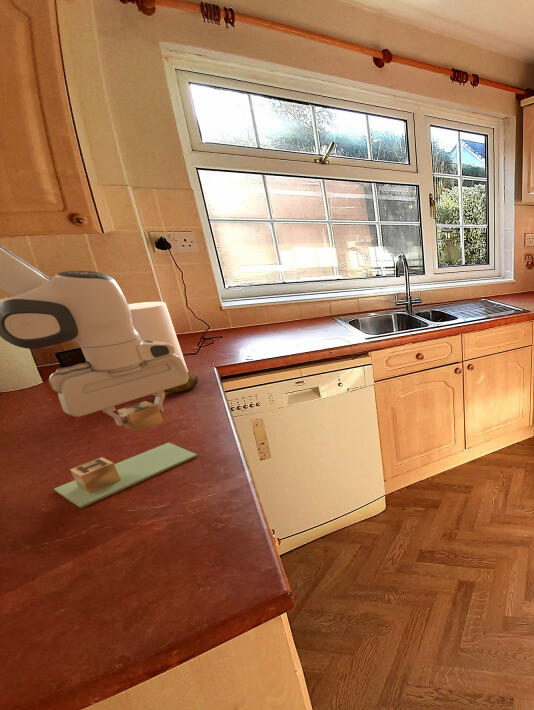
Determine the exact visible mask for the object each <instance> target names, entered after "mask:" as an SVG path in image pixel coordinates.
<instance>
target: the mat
mask: <svg viewBox="0 0 534 710" xmlns="http://www.w3.org/2000/svg"><path fill="white" fill-rule="evenodd" d="M197 457H198V454H197V453H195V452H192V451H190V450H188V449H186V448H183V447H181V446H179V445H176V444H174V443H172V442H167V443H163V444H162V445H158V446H156V447H154V448H152V449H151V448H150V449H148V450H146V451H144V452H141V453H139V454H137V455H134V456H132V457H129V458H126V459H123V460H122V461H119V462H117V463H114V465H115V468H116V470H117V472H118V474H119V477H120V479H121V480H119V481H117V482H114V483H112V484H110V485H108V486H105V487H103V488H101V489H98V490H96V491H94V492H91V493H88V492H86V491H85V490H83V489H81V488H80V487H78V485H77V483H76V481H75V479H74V480H72V481H70V482H67V483H65V484H64V483H63V484H62V485H59V486H57V487H55V488H53V491H54V492H56V493H57V494H59V495H60V496H62V497H63V498H65V499H66V500H67V501H69V502H70V503H72V504H73V505H75V506H77V508H80V509H83V508H85V507H88V506H89V505H92V504H95V503H97V502H99V501H100V500H104V499H106V498H107V497H109V496H113V495H114V494H117V493H118V492H121V491H123V490H125V489H128V488H130V487H132V486H134V485H136V484H139V483H141V482H144V481H145V480H148V479H150V478H153V477H154V476H157V475H159V474H161V473H163V472H166V471H167V470H170V469H172V468H175V467H177V466H179V465H182V464H184V463H185V462H188V461H190V460H192V459H195V458H197Z"/></svg>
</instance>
